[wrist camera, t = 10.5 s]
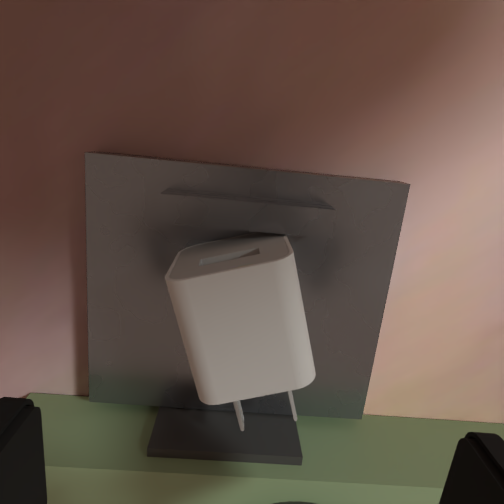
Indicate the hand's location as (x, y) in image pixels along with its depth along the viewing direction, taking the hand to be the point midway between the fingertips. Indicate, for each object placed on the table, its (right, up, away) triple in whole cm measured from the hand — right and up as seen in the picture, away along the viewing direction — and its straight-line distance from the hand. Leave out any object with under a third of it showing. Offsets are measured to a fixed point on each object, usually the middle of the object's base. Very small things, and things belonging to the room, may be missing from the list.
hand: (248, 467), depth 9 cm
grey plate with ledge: (-1, +2, +8) cm, 9 cm away
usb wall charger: (0, +2, +7) cm, 8 cm away
